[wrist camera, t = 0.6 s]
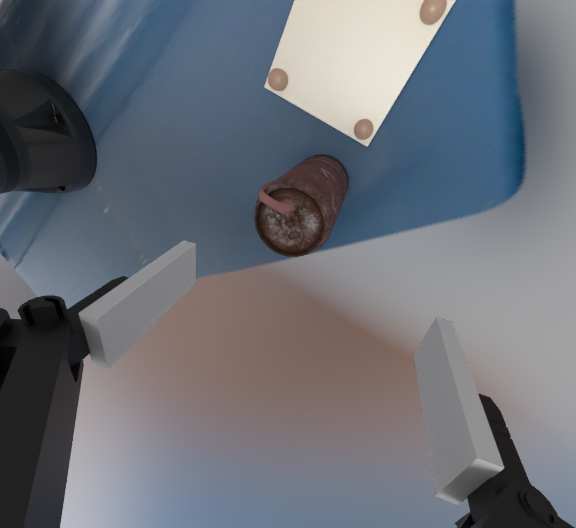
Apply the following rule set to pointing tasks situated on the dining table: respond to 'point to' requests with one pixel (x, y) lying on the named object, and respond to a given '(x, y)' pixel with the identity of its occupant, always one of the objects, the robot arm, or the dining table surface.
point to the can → (301, 206)
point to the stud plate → (352, 58)
